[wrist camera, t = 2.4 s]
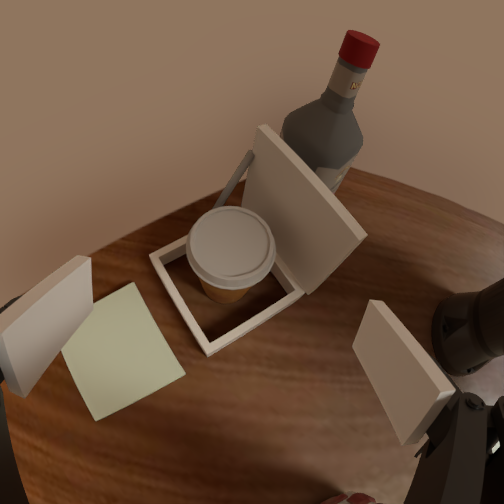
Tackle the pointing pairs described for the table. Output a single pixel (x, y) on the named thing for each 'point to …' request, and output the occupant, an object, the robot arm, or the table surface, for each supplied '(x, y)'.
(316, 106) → the liquor
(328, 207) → the access hatch
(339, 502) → the first aid kit
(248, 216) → the disposable coffee cup
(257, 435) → the table surface
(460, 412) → the robot arm
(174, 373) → the board
